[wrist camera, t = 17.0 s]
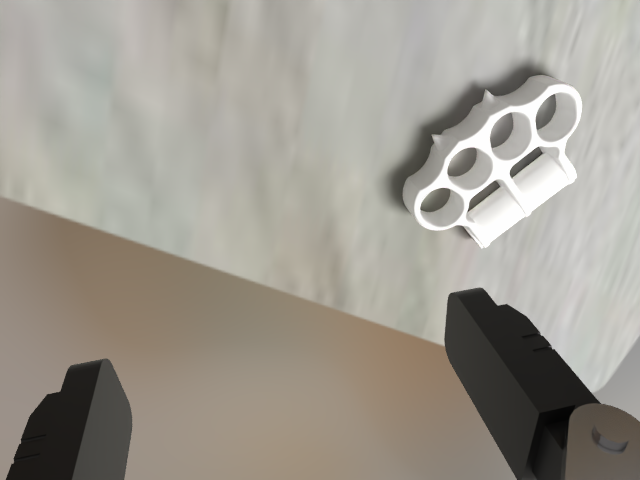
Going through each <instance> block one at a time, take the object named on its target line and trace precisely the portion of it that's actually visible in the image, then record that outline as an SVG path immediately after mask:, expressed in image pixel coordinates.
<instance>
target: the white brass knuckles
mask: <svg viewBox="0 0 640 480" xmlns="http://www.w3.org/2000/svg"><path fill="white" fill-rule="evenodd" d="M553 94H555V98H556V111H555V114H554V116H553V118H552V119H551V121H550V122H549V123H548V124H547V125H546V126H544V127H543V128H541V129H539V130H537V129H536V122H535V119H536V114H537V111H538V109H539V107H540V105H541V104H542V103H543V102H544V100H546V99H547V98H548V97H549V96H551V95H553ZM510 112H512V117H513V130H512V133H511V135H510V137H509V138H508V139H507V140H506V141H505V142H504V143H503V144H501V145H500V146H498V147H495V148H491V144H490V133H491V130H492V127H493V126H494V124H495V123H496V121H497V120H498V119H499V118H501V117H502V116H503V115H505V114H507V113H510ZM581 113H582V101H581V97H580V95H579V93H578V91H577V90H576V89H575V88H574V87H573V86H571V85H569V84H567V83H564V82H562V81H559V80H557V79H554V78H552V77H549V76H546V75H536V76H532V77H529V78H528V79H527V81H526V82H525V83H524V84H523V85H522V86H521V87H520V88H518V89H517V90H515V91H514V92H512V93H510V94H507V95H503V96H493V95H492V94H491V93H490V92H489V91H488V90H487V89H485V93H484V97H483V100H482V102H480V103H478V104H476V105H474V106H473V108H472V109H471V111H470V113H469V114H468V115H467V117H466V118H465V119H464V120H463V121H461V122H460V123H459V124H457V125H456V126H454V127H452V128H449V129H445V130H444V131H443V133H442V134H441V135H434V134H431V135H432V138H433V140H434V144H433V145H432V147H431V151H430V154H429V157H428V159H427V161H426V163H425V164H424V165H423V167H422V168H421V169H420V170H419V171H417V172H416V173H415V174H413V175H411V176H409V177H408V178H407V179H406V181H405V184H404V187H403V201H404V204H405V206H406V207H407V209H408V210H409V212H410V213H411V214H412V216H413V217H414V218H415V220H416V221H417V222H418V223H419V224H420V225H421V226H423V227H424V228H427V229H430V230H445V229H449V228H451V227H453V226H456V225H461V226H463V227H464V229H465V230H466V231H467V232H468V234H469V235H470V236H471V237H472V238H473V240H474V241H475V242H476V243H477V244H478V246H479V247H480V248H481V249H482V248H483V247H484V248H486V247H487V246H489V245H490V242H491V241H493V240H494V239H495V238H497V237H498V236H499V235H501V234H502V233H503V232H505V231H506V230H507V229H509V228H510V227H511V226H513V225H514V224H515V223H517V222H518V221H519V220H521V219H522V218H523V217H527V216H529V215H530V214H531V211H533V210H534V209H535V208H537V207H538V206H539V205H541V204H542V203H543V202H545V201H546V200H547V199H549V198H550V197H551V196H553V195H554V194H555V193H557V192H558V191H559V190H561V189H562V188H563V187H565V186H566V185H567V184H568V185H570V184H571V183H573V182H574V181H575V178H576V177H577V174H576V171H575V169H574V167H573V165H572V164H571V162H570V161H569V159H568V158H567V157H566V155H565V153H564V150H565V146H566V141H567V139H568V138H569V137H570V135H571V134H572V133H573V131H574V130H575V128H576V127H577V125H578V123H579V120H580V117H581ZM539 146H540V149H541V151H542V153H543V154H542V155H541V156H539V157H538V158H537V159H536V160H534V161H533V162H532V163H530V164H529V165H528V166H527V167H525V168H524V169H523V170H521V171H520V172H519V173H518V174H516V175H515V176H514V177H512V178H511V176H510V170H511V168H512V166H513V165H514V164H516V163H517V162H518V161H520V160H521V159H522V158H523V157H525V156H526V155H527V154H528V153H530V152H531V151H532V150H534V149H535V148H536V147H539ZM469 147H473V148H476V151H477V158H476V161H475V164H474V165H473V167H472V168H471V169H470V170H469V171H468V172H467V173H465V174H463V175H461V176H449V175H448V174H447V168H448V165H449V162H450V160H451V159H452V158H453V156H454V155H455V154H456V153H458V152H459V151H461V150H463V149H465V148H469ZM494 180H496V181H497V183H498V184H499V186H500V188H498V189H497V190H496V191H494V192H493V193H492V194H491V195H489V196H488V197H487V198H485V199H484V200H483V201H482V202H480V203H479V204H478V205H477V206H475V207H474V208H473V209H471V210H470V211H469V212H468V213H467V211H468V208H469V202H470V200H471V198H472V197H474V196H475V195H476V194H477V193H479V192H480V191H481V190H483V189H484V188H485V187H486V186H488V185H489V184H490V183H491V182H493V181H494ZM438 188H448V189H450V197H449V200H448V201H447V203H446V204H445V205H444V206H443V207H442V208H441V209H439V210H437V211H434V212H425V211H422V210H420V206H421V203H422V201H423V199H424V198H425V197H426V195H427V194H429V193H430V192H431V191H433V190H435V189H438Z"/></svg>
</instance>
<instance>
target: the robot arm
mask: <svg viewBox="0 0 640 480" xmlns="http://www.w3.org/2000/svg"><path fill="white" fill-rule="evenodd" d="M445 348H446V352H447V356H448V359H449V361H450V363H451V365H452V367H453V369H454V370H455V372H456V374H457V376H458V377H459V379H460V381H461V382H462V384H463V386H464V388H465V389H466V391H467V393H468V395H469V396H470V398H471V400H472V402H473V403H474V405H475V407H476V408H477V410H478V412H479V414H480V416H481V417H482V419H483V421H484V423H485V424H486V426H487V428H488V430H489V431H490V433H491V435H492V437H493V438H494V440H495V442H496V444H497V445H498V447H499V449H500V450H501V452H502V454H503V455H504V457H505V459H506V461H507V463H508V465H509V466H510V468H511V470H512V471H513V473H514V475H515V477H516V478H517V480H640V422H639V421H638V420H637V419H636V418H634V417H633V416H632V415H630V414H628V413H627V412H625V411H623V410H621V409H618V408H616V407H613V406H609V405H605V404H601V403H600V402H599V401H598V400H597V399H596V398H595V397H594V395H593V394H592V393H591V392H590V391H589V390H588V388H587V387H586V386H585V385H584V384H583V382H582V381H581V380H580V379H579V378H578V377H577V375H576V374H575V373H574V372H573V371H572V369H571V368H570V367H569V366H568V365H567V364H566V362H565V361H564V360H563V359H562V358H561V357H560V355H559V354H558V353H557V352H556V351H555V349H552V347H551V345H550V344H549V342H548V341H547V340H546V339H545V338H544V336H541V335H540V332H539V331H538V329H537V328H536V327H535V326H534V325H533V323H532V322H531V321H530V320H529V319H528V318H527V316H525V315H523V314H522V313H520V312H519V311H517V310H515V309H514V308H512V307H511V306H509V305H507V304H505V305H500V306H497V305H496V303H495V302H494V301H493V300H492V298H491V297H490V296H489V295H488V293H487V292H486V291H485V290H484V289H483V288H474V289H469V290H464V291H459V292H454V293H450V294H449V297H448V303H447V315H446V327H445ZM131 432H132V414H131V408H130V404H129V401H128V399H127V397H126V394H125V392H124V390H123V388H122V386H121V383H120V381H119V379H118V377H117V374H116V372H115V370H114V368H113V365H112V363H111V362H110V360H108V359H102V360H96V361H91V362H86V363H81V364H76V365H71V366H70V367H69V369H68V371H67V373H66V376H65V379H64V382H63V385H62V389H61V391H60V392H57V393H52V394H47V396H46V397H45V398H44V399H43V401H42V402H41V403H40V404H39V405H38V407H37V408H36V409H35V410H34V412H33V413H32V414H31V415H30V417H29V419H28V422H27V425H26V427H25V430H24V433H23V435H22V438H21V444H19V446H18V449H17V451H16V454H15V457H14V464H12V465H11V467H10V470H9V473H8V475H7V478H6V480H124V477H125V470H126V463H127V458H128V451H129V445H130V439H131Z"/></svg>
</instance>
